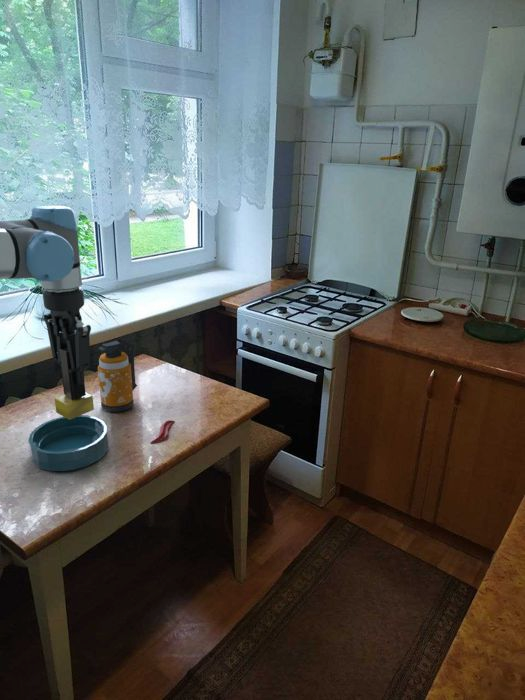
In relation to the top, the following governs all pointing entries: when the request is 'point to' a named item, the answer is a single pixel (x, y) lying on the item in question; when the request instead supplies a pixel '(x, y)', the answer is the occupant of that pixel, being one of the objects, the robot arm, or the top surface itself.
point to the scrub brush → (66, 402)
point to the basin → (68, 443)
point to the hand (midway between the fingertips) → (74, 394)
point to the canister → (116, 375)
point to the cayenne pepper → (163, 431)
